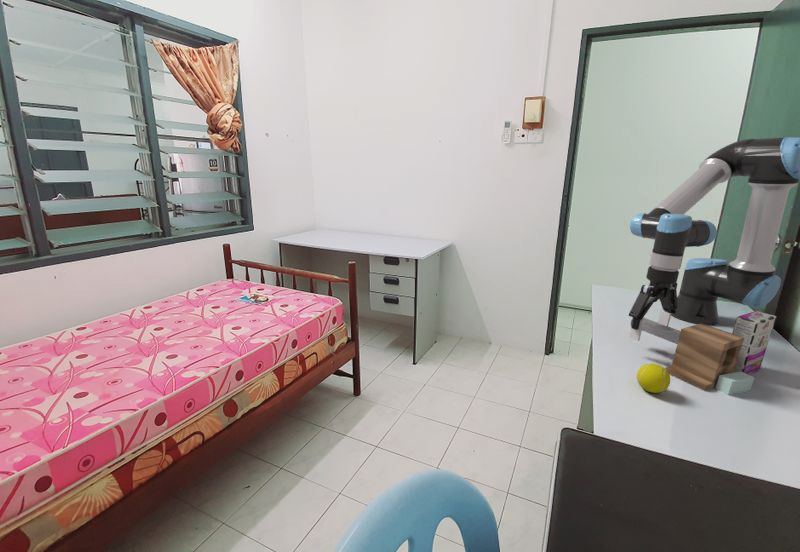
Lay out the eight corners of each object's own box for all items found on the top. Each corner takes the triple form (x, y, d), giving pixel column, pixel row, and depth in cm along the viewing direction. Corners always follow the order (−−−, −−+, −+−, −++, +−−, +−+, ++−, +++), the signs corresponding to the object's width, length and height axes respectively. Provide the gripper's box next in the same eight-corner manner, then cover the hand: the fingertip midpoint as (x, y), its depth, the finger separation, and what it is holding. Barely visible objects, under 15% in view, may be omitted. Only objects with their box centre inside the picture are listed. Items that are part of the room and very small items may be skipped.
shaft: (638, 326, 122) (641, 313, 121) (714, 356, 104) (719, 341, 103) (629, 328, 120) (632, 315, 119) (705, 359, 102) (710, 344, 101)
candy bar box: (739, 361, 114) (755, 310, 110) (760, 369, 110) (778, 316, 105) (720, 369, 109) (736, 315, 105) (741, 378, 105) (759, 322, 100)
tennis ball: (631, 390, 97) (637, 365, 95) (637, 379, 102) (642, 355, 100) (664, 401, 93) (671, 376, 91) (668, 389, 98) (674, 365, 96)
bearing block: (696, 361, 114) (707, 321, 110) (736, 377, 105) (750, 335, 102) (664, 372, 106) (674, 330, 103) (704, 390, 98) (718, 346, 94)
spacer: (741, 371, 101) (754, 377, 98) (736, 385, 102) (749, 391, 99) (719, 375, 98) (732, 381, 95) (715, 389, 99) (727, 395, 97)
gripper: (675, 261, 120) (659, 324, 126) (624, 268, 109) (610, 336, 115) (701, 267, 114) (684, 333, 120) (650, 275, 103) (634, 347, 109)
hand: (648, 335), depth 118 cm, fingers open, 13 cm apart
